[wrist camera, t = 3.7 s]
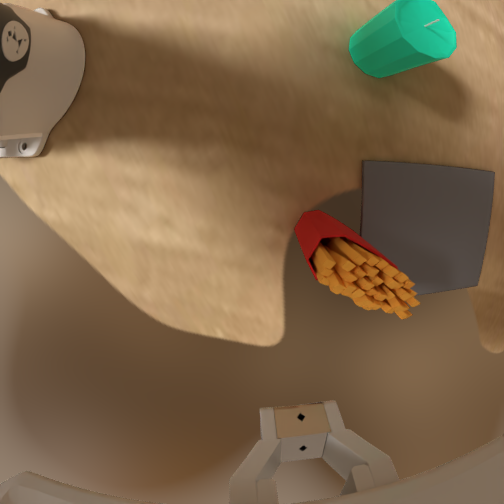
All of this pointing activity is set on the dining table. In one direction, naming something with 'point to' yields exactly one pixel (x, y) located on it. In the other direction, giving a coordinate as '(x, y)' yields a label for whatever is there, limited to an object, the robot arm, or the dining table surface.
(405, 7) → the candle
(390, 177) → the mat
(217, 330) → the dining table surface
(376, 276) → the french fries
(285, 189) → the dining table surface
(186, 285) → the dining table surface
